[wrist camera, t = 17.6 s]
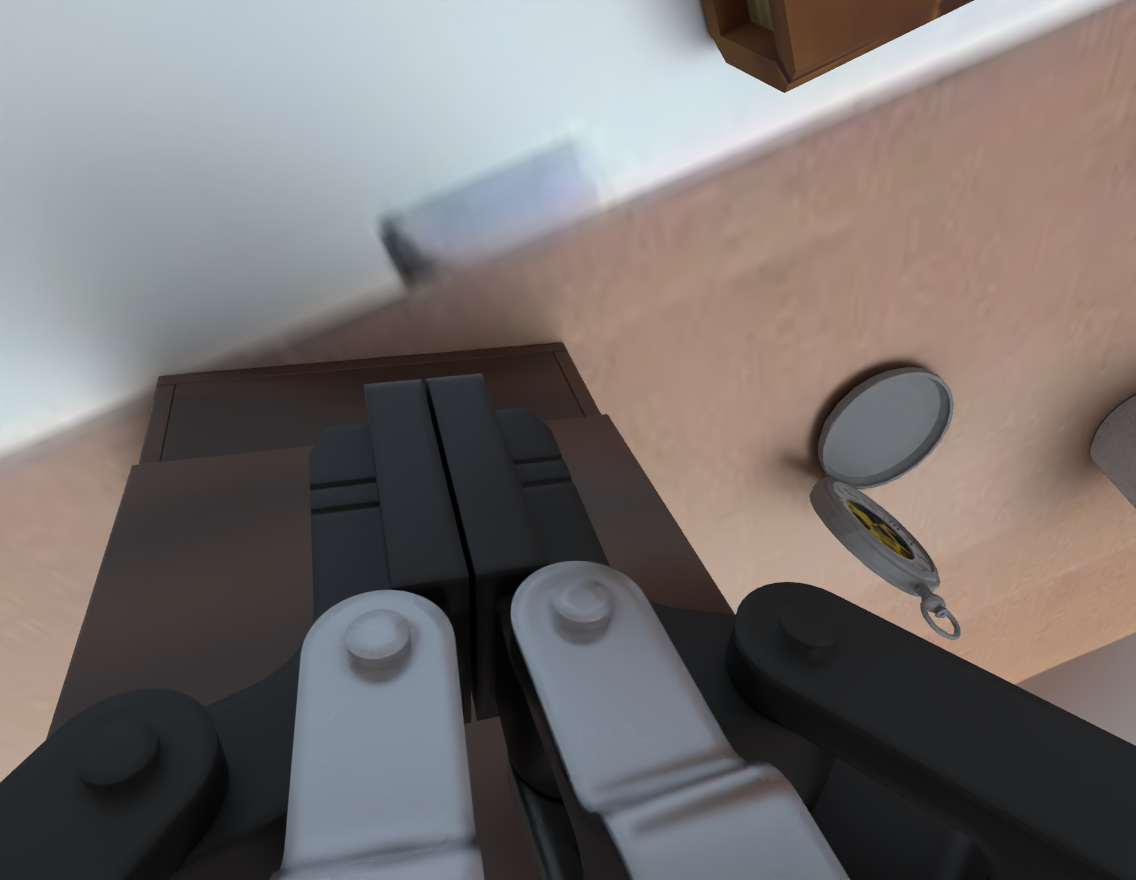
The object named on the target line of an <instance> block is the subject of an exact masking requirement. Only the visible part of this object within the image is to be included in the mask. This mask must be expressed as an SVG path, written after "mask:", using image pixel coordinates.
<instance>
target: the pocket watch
mask: <svg viewBox="0 0 1136 880" xmlns="http://www.w3.org/2000/svg"><path fill="white" fill-rule="evenodd" d="M953 407H954V403H953V397H952V393H951V390H950V388H949V386H948V385H947V384H946V383H945V382H944V381H943V380H942V379H941V378H940V377H939V376H938V375H937V374H934V373H932V372H930V371H928V370H925V369H923V368H914V367H905V368H900V369H893V370H889V371H886V372H883V373H880V374H878V375H875V376H873V377H871V378H870V379H868V380H866V381H865V382H863V383H861V384H860V385H858V386H857V387H855V388H854V389H853V390H852V391H851V392H849V393H848V394H847V395H846V396H845V397H844V398H843V399H842V400H841V401H840V402H839V403H838V404H837V405H836V407H835V408H834V410H833V411H832V413H831V414H830V415H829V417H828V418H827V420H826V421H825V423H824V426H823V429H822V432H821V435H820V439H819V442H818V457H819V461H820V464H821V466H822V468H823V469H824V471H825V473H826V474H827V475H828V476H827V475H826V476H825V478H821V479H820V480H819V481H818V482H817V483H816V484H815V485H814V487H813V491H812V492H811V494H810V501H811V503H812V506H813V508H814V510H815V511H816V513H817V514H818V516H819V517H820V518H821V520H822V521H823V523H824V524H825V525H826V527H827V528H828V529H829V530H830V531H831V532H832V533H833V535H834V536H835V537H836V538H837V539H838V540H839V541H840V542H841V543H842V544H843V545H844V546H845V547H846V548H847V549H848V550H849V551H850V552H851V553H852V554H853V555H854V556H856V557H857V558H858V559H859V560H860V561H861V562H862V563H863V564H864V565H866V566H867V567H868V568H869V569H870V570H871V571H873V572H874V573H876V574H877V575H879V576H880V577H881V578H883V579H884V580H886V581H887V582H888V583H890V584H892V585H893V586H895V587H897V588H898V589H900V590H902V591H904V592H906V593H908V594H910V595H914V596H918V597H921V598H922V602H921V604H920V605H921V612H922V615H923V617H924V618H925V620H926V621H927V622H928V624H929V625H930V627H931V628H933V629H934V630H935V631H936V632H937V633H938V634H940V635H941V636H943V637H945V638H947V639H950V640H955V639H958V638H959V637H960V626H959V624H958V622H957V621H956V619H955V618H954V616H953V615H952V614H951V613H950V612H949V611H948V610H947V609H946V608H945V607H946V605H945V602H944V600H943V598H941V597H940V596H938V595H936V594H933V593H932V592H933V591H934V590H935V589H936V588H937V587H939V584H940V579H939V576H938V571H937V568H936V566H935V564H934V563H933V561H932V559H931V558H930V556H929V555H928V553H927V552H926V551H925V549H924V548H923V547H922V546H921V544H920V543H919V542H918V541H917V540H916V539H915V538H914V537H913V536H912V535H911V533H910V532H908V531H907V530H906V529H905V528H904V527H903V526H902V525H901V524H900V523H899V522H898V521H897V520H896V519H895V518H894V517H893V516H892V515H890V514H889V513H888V512H887V511H886V510H884V509H883V508H882V507H881V506H880V505H878V504H877V503H876V502H874V501H873V500H872V499H870V498H869V497H868V496H866V495H865V494H863V493H862V492H860V491H858V490H857V489H865V488H872V487H877V486H881V485H884V484H887V483H889V482H891V481H894V480H896V479H898V478H900V477H901V476H903V475H904V474H906V473H907V472H909V471H910V470H912V469H914V468H915V467H917V466H918V465H919V464H920V463H921V462H922V461H923V460H924V459H925V458H926V457H927V456H928V455H929V454H930V453H931V452H933V451H934V449H935V448H936V447H937V445H938V444H939V443H940V441H941V440H942V438H943V436H944V435H945V433H946V431H947V429H948V427H949V424H950V422H951V419H952V414H953ZM927 610H929V611H930V612H933V613H935V616H936V617H938V618H944V617H946V616H947V617H948V618H949V619H950V621H951V623H952V624H953V626H954V634H953V635H951V634H948V633H946V632H945V631H943V630H942V629H941V628H939V627H938V626H937V625H936V624H935V623H934V621H933V620H932V619H931V617H930V616H929V614H928V612H927Z"/></svg>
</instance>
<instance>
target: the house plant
mask: <svg viewBox="0 0 1136 880" xmlns="http://www.w3.org/2000/svg"><path fill="white" fill-rule="evenodd" d="M1090 455H1091V458H1092V460H1093V461H1094V462H1095V463H1096V465H1097V466H1098V467H1099V468H1100V469H1101V470H1102V471H1103V473H1104V474H1105V475H1106V476H1107V477H1108V478H1109V479H1110V480H1111V482H1112V483H1113V484H1114V485H1115V486H1116V487H1117V488H1118V489H1119V491H1120V492H1121V493H1122V494H1123V495H1124V496H1125V497H1126V498H1127V500H1128V501H1129V502H1130V503H1131V504H1132V505H1133V506H1134V507H1135V509H1136V395H1135V396H1133V397H1131V398H1130V399H1128V400H1127V401H1125V402H1124V403H1122V404H1121V405H1119V406H1118V407H1117V408H1116V409H1115V410H1114V411H1113V412H1112V413H1110V414H1109V415H1108V417H1107V418H1106V419H1105V420H1104V421H1103V422H1102V424H1101V425H1100V426H1099V428H1098V430H1097V432H1096V434H1095V436H1094V439H1093V442H1092V444H1091V449H1090Z"/></svg>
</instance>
